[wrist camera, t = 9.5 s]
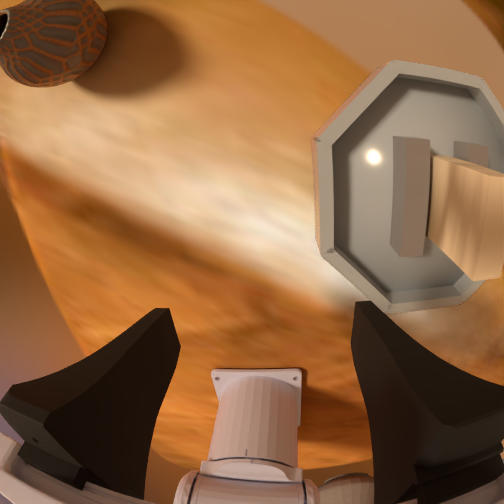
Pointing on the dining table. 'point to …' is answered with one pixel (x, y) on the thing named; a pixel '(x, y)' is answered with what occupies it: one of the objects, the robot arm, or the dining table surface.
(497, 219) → the pine wood chunk
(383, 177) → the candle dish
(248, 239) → the dining table surface
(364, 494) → the coffee pot
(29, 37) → the vase
